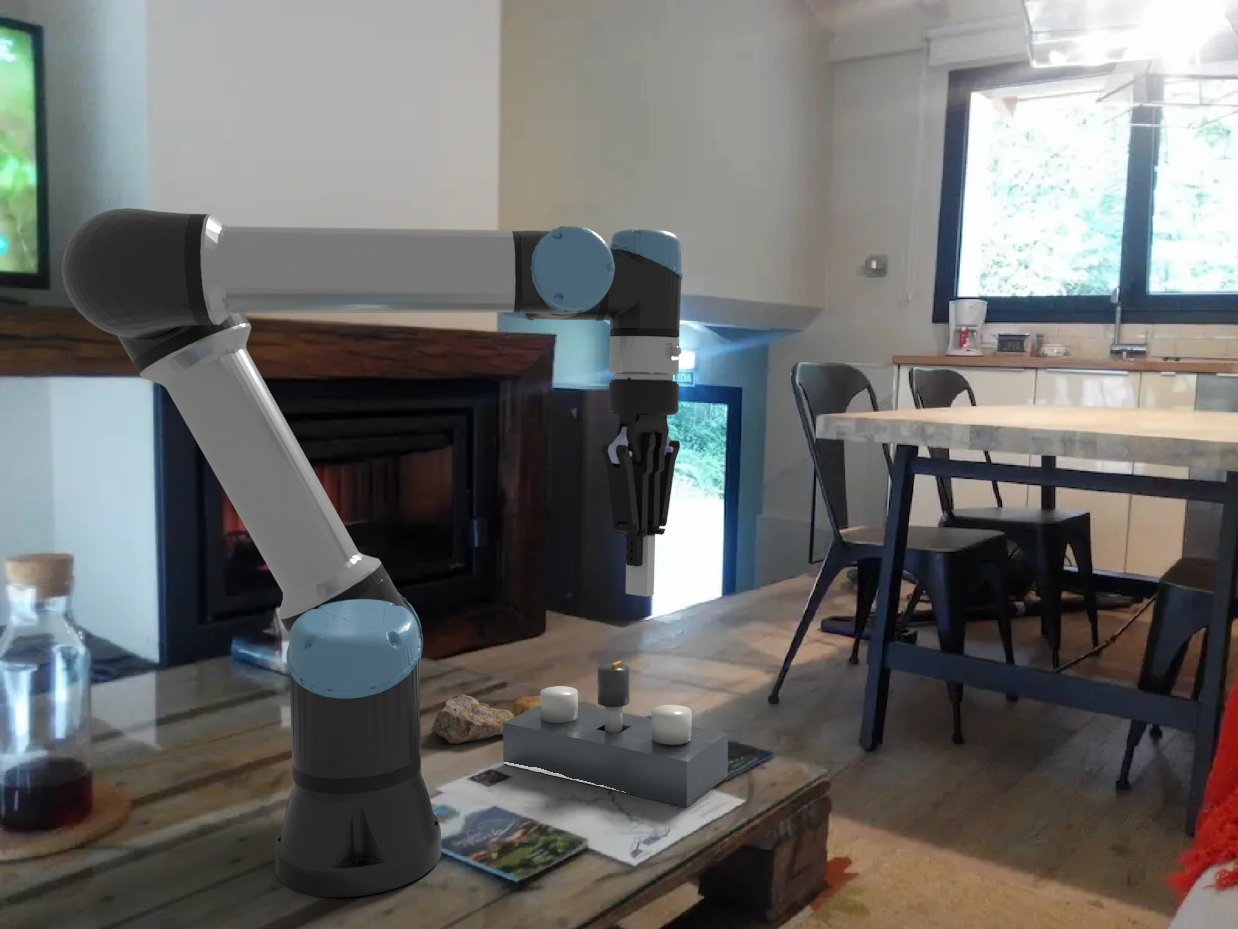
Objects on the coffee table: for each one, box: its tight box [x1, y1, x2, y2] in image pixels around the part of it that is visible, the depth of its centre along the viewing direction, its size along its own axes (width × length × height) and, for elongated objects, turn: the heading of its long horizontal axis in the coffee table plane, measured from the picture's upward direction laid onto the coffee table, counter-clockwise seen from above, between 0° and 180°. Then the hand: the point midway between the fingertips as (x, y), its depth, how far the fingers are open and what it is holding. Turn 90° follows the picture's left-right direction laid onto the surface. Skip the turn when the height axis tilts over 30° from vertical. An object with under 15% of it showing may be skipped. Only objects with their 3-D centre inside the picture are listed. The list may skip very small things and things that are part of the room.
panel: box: [502, 704, 729, 809], centre depth 120 cm, size 24×10×5 cm, turn 59°
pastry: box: [511, 695, 540, 717], centre depth 138 cm, size 9×7×4 cm
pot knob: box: [597, 660, 630, 734], centre depth 120 cm, size 4×4×9 cm
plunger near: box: [651, 704, 693, 745], centre depth 116 cm, size 4×4×8 cm
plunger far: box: [539, 685, 579, 723], centre depth 124 cm, size 4×4×8 cm
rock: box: [430, 693, 515, 745], centre depth 133 cm, size 9×6×10 cm
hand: (639, 593), depth 115 cm, fingers closed
